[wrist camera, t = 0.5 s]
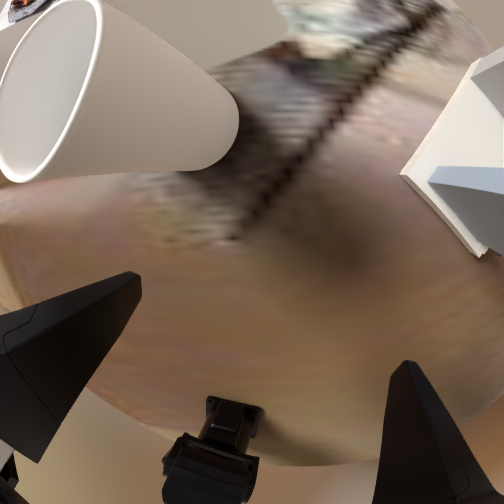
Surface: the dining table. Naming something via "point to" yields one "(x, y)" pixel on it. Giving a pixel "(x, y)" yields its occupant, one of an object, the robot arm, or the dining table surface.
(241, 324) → the dining table surface
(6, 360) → the robot arm
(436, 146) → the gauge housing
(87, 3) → the cup
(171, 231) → the dining table surface
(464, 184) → the grey rounded panel
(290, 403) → the dining table surface
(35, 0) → the food plate
